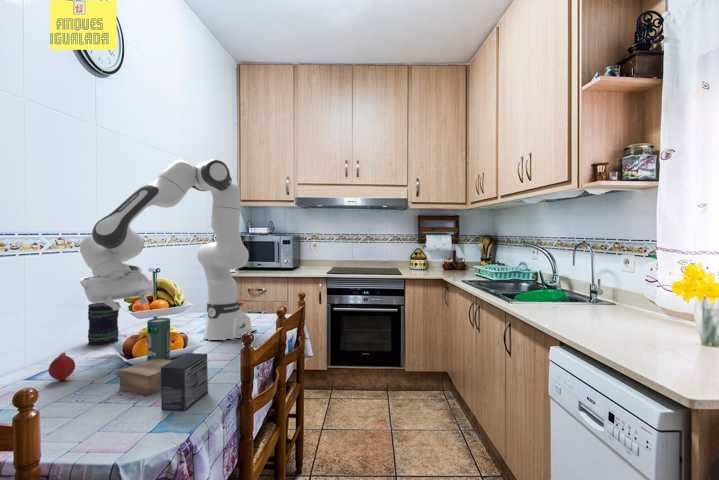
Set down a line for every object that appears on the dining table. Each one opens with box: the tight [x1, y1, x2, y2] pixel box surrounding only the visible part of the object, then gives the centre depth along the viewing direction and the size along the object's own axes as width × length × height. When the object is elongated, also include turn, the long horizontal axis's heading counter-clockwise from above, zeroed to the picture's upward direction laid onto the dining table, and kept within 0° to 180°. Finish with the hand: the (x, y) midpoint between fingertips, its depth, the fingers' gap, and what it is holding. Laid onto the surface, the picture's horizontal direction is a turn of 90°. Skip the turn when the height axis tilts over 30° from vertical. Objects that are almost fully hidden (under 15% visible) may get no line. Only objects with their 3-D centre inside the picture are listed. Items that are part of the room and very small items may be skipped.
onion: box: [48, 351, 76, 382], centre depth 103 cm, size 6×6×8 cm
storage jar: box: [87, 301, 120, 347], centre depth 142 cm, size 10×10×15 cm
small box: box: [160, 352, 209, 412], centre depth 90 cm, size 11×6×10 cm, turn 174°
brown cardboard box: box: [119, 358, 172, 397], centre depth 101 cm, size 11×11×5 cm
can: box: [146, 317, 171, 361], centre depth 114 cm, size 6×6×15 cm
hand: (132, 306), depth 118 cm, fingers open, 8 cm apart
